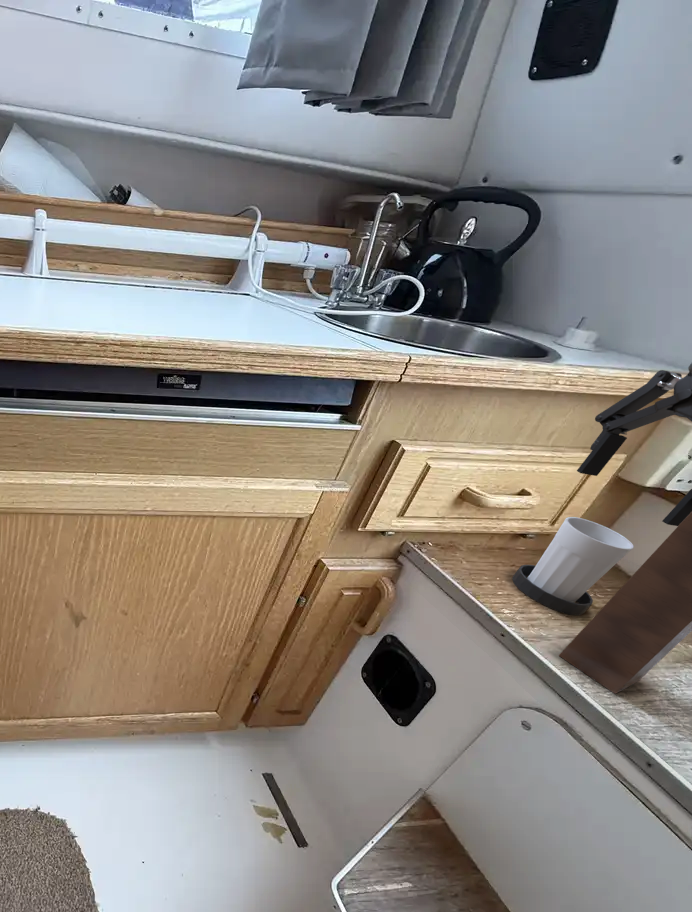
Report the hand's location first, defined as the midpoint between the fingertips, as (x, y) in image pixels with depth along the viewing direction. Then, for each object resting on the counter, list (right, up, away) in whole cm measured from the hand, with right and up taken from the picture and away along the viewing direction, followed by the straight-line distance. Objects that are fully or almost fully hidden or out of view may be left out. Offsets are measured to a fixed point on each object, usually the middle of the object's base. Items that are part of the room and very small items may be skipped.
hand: (626, 497), depth 78 cm
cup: (-3, -16, +9) cm, 18 cm away
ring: (-3, -15, +9) cm, 18 cm away
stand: (-9, -23, -5) cm, 25 cm away
